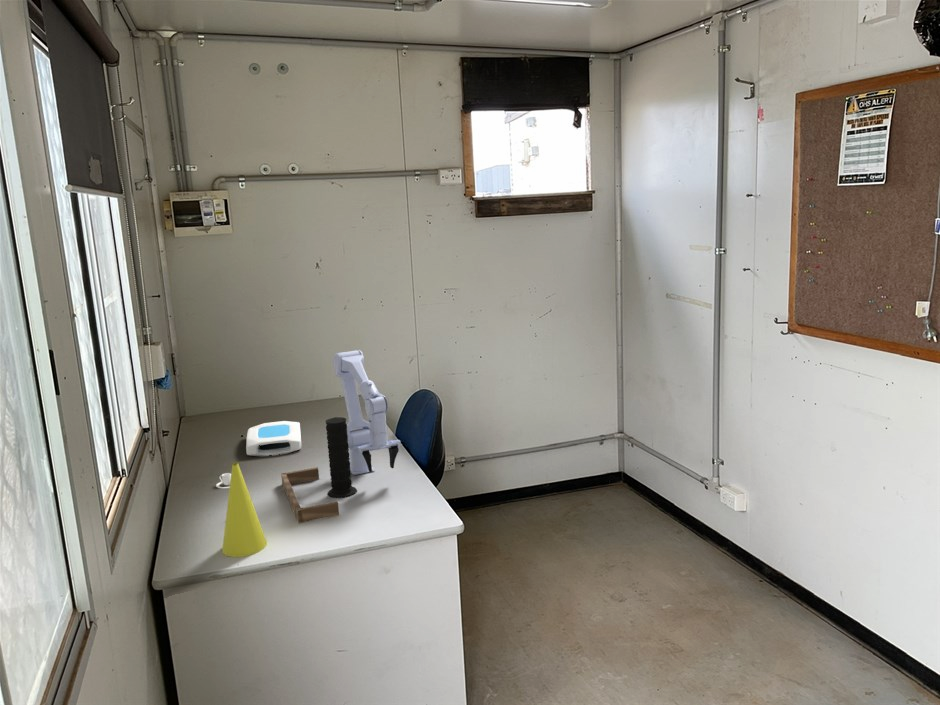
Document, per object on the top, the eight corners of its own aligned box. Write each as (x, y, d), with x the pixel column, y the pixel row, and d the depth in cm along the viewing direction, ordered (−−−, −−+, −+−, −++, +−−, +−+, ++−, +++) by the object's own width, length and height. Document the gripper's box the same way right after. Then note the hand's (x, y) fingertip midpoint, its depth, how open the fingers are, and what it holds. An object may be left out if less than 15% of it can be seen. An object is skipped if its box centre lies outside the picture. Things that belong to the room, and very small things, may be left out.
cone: (271, 535, 211) (262, 455, 207) (260, 555, 199) (251, 470, 195) (229, 538, 211) (219, 457, 206) (216, 558, 199) (205, 473, 194)
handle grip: (326, 489, 246) (328, 500, 236) (319, 415, 240) (321, 423, 231) (355, 485, 248) (358, 495, 239) (349, 411, 243) (352, 419, 234)
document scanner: (300, 432, 313) (299, 418, 312) (301, 452, 286) (300, 437, 285) (250, 438, 308) (249, 424, 307) (247, 459, 282) (245, 444, 280)
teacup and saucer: (245, 483, 256) (244, 472, 255) (228, 491, 249) (227, 480, 249) (229, 479, 261) (227, 469, 260) (211, 487, 254) (209, 476, 253)
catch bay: (282, 484, 252) (281, 473, 252) (318, 477, 257) (317, 467, 256) (298, 523, 219) (296, 510, 219) (339, 514, 224) (338, 502, 223)
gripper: (360, 437, 237) (363, 476, 240) (402, 431, 242) (404, 469, 245) (355, 432, 244) (358, 470, 246) (396, 425, 249) (399, 463, 251)
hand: (381, 469), depth 246 cm, fingers open, 7 cm apart
